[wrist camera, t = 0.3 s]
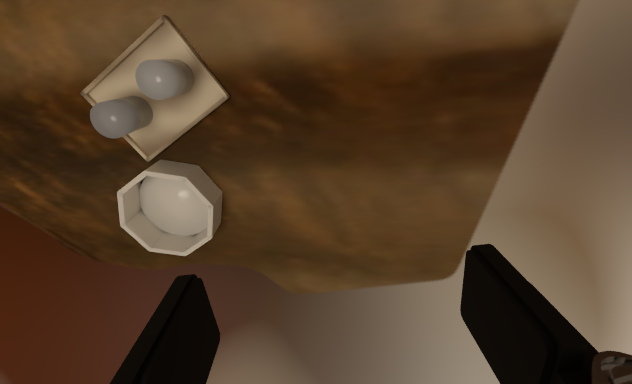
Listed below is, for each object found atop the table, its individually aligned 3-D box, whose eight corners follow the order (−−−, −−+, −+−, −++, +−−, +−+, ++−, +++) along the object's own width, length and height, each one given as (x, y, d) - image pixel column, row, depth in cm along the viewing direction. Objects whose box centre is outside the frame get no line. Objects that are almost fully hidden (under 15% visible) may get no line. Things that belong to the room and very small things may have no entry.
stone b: (114, 108, 42) (82, 116, 36) (135, 89, 41) (106, 94, 35) (138, 133, 44) (111, 145, 38) (159, 115, 43) (135, 124, 37)
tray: (85, 92, 42) (79, 93, 41) (166, 16, 38) (163, 15, 37) (151, 160, 46) (147, 162, 45) (230, 96, 42) (228, 97, 41)
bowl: (118, 192, 48) (98, 206, 43) (179, 144, 45) (164, 154, 40) (180, 249, 53) (167, 268, 48) (238, 209, 50) (231, 225, 45)
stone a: (153, 72, 41) (127, 75, 35) (177, 52, 40) (153, 51, 34) (177, 100, 42) (156, 107, 36) (200, 81, 41) (182, 85, 35)
